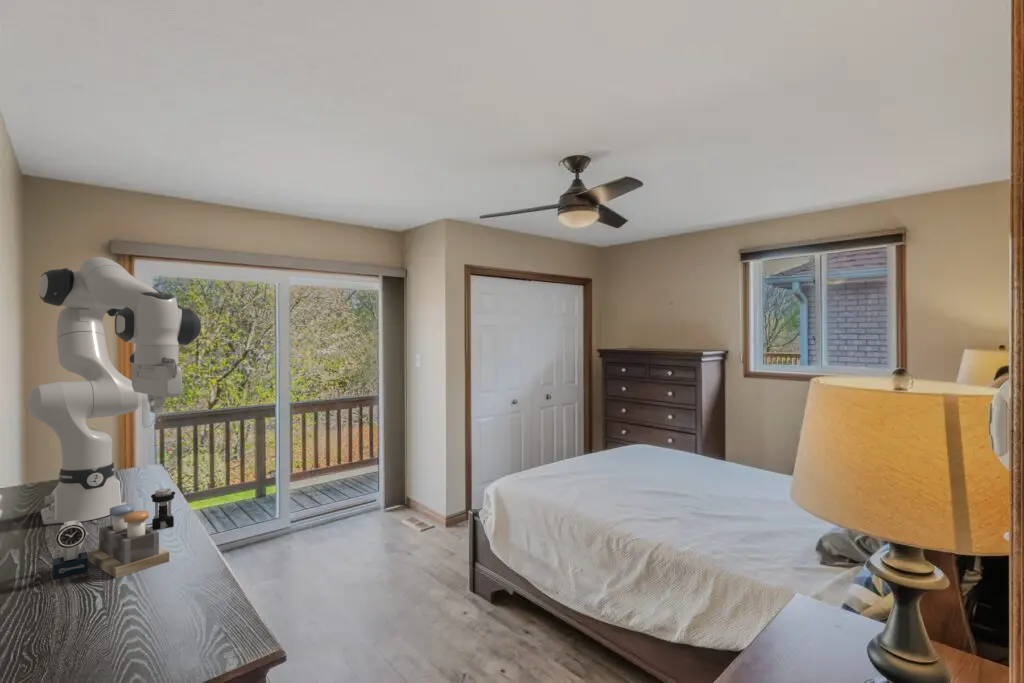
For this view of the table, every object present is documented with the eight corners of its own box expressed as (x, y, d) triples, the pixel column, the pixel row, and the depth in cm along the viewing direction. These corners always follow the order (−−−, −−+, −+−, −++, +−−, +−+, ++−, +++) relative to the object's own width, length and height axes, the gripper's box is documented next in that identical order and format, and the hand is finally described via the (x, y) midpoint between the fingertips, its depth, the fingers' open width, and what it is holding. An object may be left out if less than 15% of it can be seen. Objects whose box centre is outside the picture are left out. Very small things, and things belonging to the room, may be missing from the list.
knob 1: (106, 547, 114) (106, 508, 114) (128, 541, 118) (129, 503, 118) (113, 552, 112) (114, 511, 112) (136, 545, 115) (137, 506, 115)
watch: (52, 583, 102) (53, 530, 102) (53, 570, 108) (54, 520, 108) (88, 575, 105) (89, 523, 105) (87, 562, 111) (87, 514, 111)
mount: (87, 560, 113) (88, 529, 113) (139, 545, 121) (139, 516, 121) (115, 578, 104) (116, 545, 104) (169, 561, 112) (169, 530, 112)
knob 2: (120, 556, 110) (120, 514, 110) (143, 549, 113) (143, 509, 113) (128, 560, 107) (128, 518, 107) (151, 553, 111) (152, 512, 111)
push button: (144, 533, 128) (145, 495, 129) (144, 527, 133) (144, 490, 133) (175, 528, 133) (175, 491, 133) (174, 522, 137) (174, 486, 137)
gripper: (190, 358, 119) (189, 415, 119) (154, 355, 131) (154, 407, 131) (160, 359, 114) (159, 418, 114) (126, 356, 125) (125, 410, 125)
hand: (156, 412), depth 122 cm, fingers closed
